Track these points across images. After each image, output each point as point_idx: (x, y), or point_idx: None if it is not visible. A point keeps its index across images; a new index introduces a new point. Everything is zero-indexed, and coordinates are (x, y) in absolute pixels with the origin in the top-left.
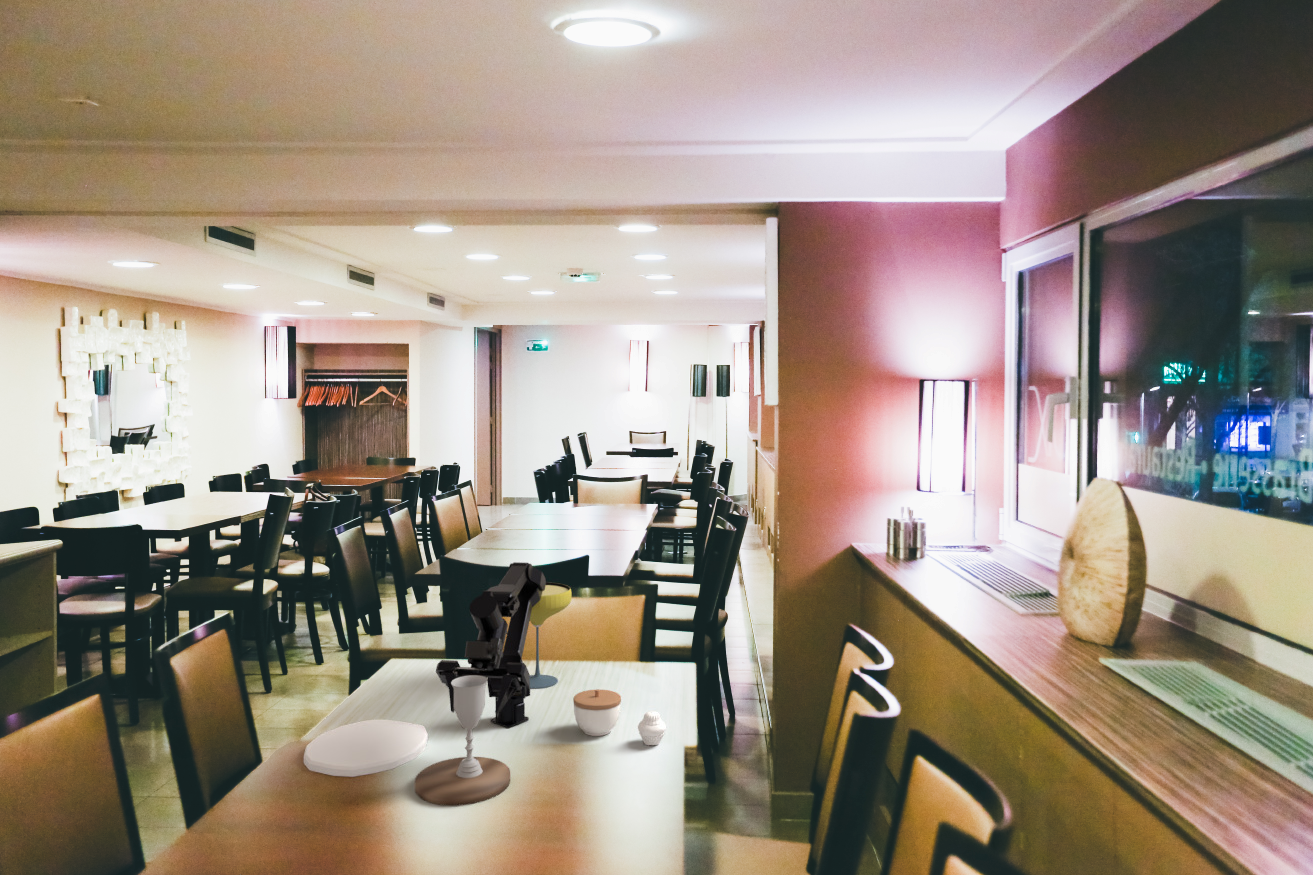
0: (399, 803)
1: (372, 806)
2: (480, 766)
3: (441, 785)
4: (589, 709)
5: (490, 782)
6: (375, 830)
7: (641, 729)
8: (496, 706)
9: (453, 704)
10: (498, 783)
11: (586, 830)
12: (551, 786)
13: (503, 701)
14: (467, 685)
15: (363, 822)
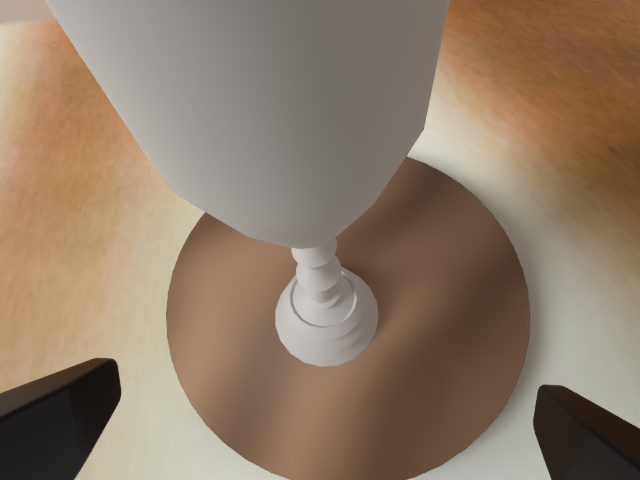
0: (490, 162)
1: (557, 142)
2: (280, 314)
3: (393, 208)
4: None
5: (232, 241)
6: (473, 59)
7: None
8: (77, 373)
9: (568, 409)
10: (205, 236)
11: (8, 100)
12: (41, 292)
13: None
14: (333, 30)
15: (524, 81)
